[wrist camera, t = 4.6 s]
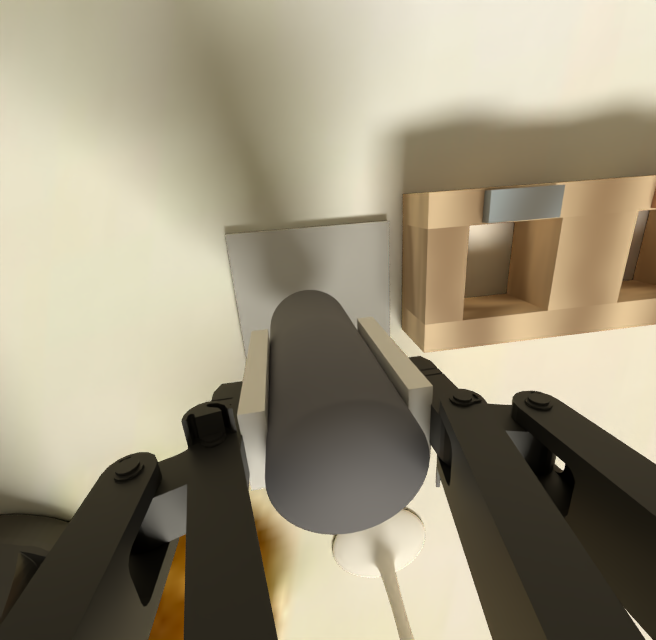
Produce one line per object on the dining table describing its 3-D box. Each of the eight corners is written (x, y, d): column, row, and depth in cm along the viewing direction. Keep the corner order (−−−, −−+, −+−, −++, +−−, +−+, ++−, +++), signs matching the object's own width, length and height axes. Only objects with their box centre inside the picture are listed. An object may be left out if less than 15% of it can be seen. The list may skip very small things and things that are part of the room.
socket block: (401, 328, 24) (428, 357, 20) (402, 193, 21) (434, 192, 16) (654, 299, 26) (728, 319, 21) (689, 172, 23) (784, 165, 18)
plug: (275, 366, 20) (276, 547, 9) (265, 294, 18) (252, 413, 8) (349, 357, 20) (427, 519, 10) (345, 285, 19) (432, 387, 8)
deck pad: (250, 379, 24) (250, 382, 23) (226, 233, 20) (224, 234, 20) (388, 361, 25) (390, 364, 24) (387, 220, 21) (389, 220, 21)
